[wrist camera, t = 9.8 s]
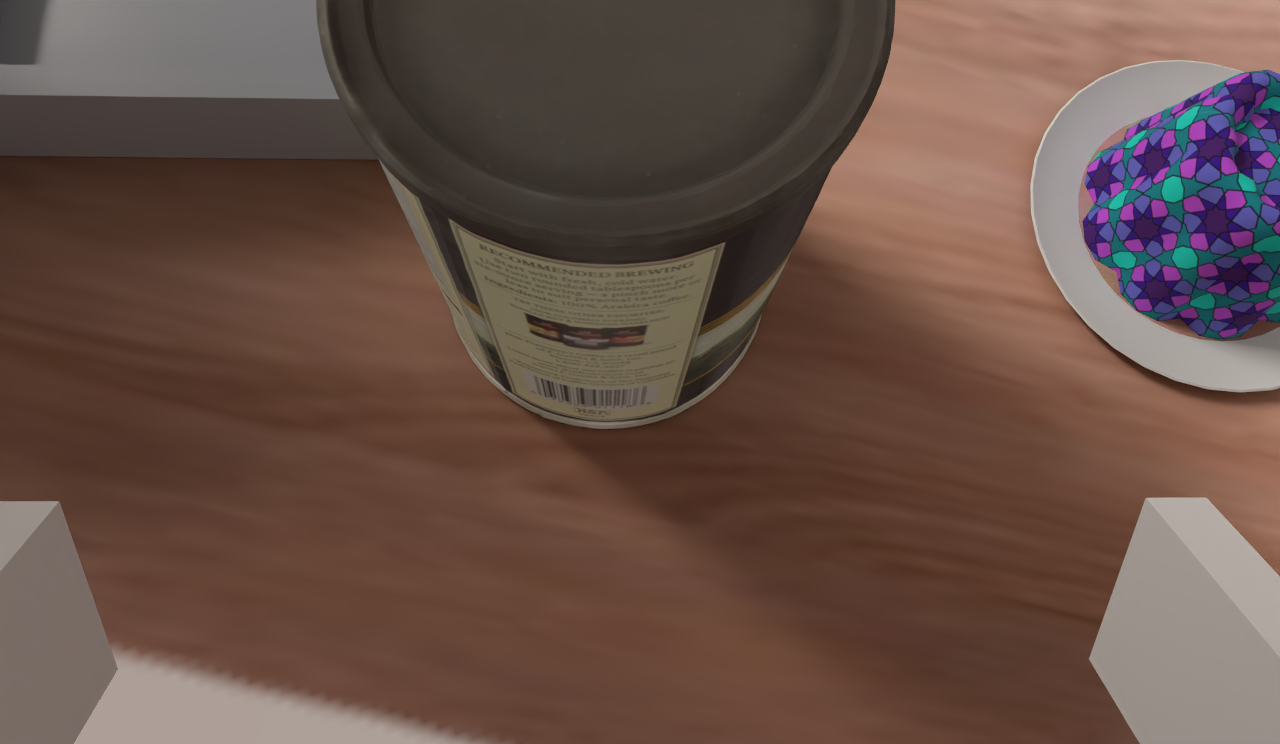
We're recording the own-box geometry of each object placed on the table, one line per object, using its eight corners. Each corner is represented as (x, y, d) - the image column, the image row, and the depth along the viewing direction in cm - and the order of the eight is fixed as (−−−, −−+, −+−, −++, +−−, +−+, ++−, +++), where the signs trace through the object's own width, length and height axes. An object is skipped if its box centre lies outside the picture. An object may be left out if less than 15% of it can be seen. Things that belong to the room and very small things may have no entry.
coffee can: (694, 94, 32) (763, -304, 18) (815, 366, 29) (996, 135, 16) (403, 186, 31) (246, -172, 17) (503, 479, 28) (413, 332, 15)
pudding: (1215, 473, 29) (1342, 439, 24) (947, 202, 32) (1013, 119, 27) (1440, 252, 32) (1598, 179, 27) (1177, 14, 34) (1278, -95, 29)
